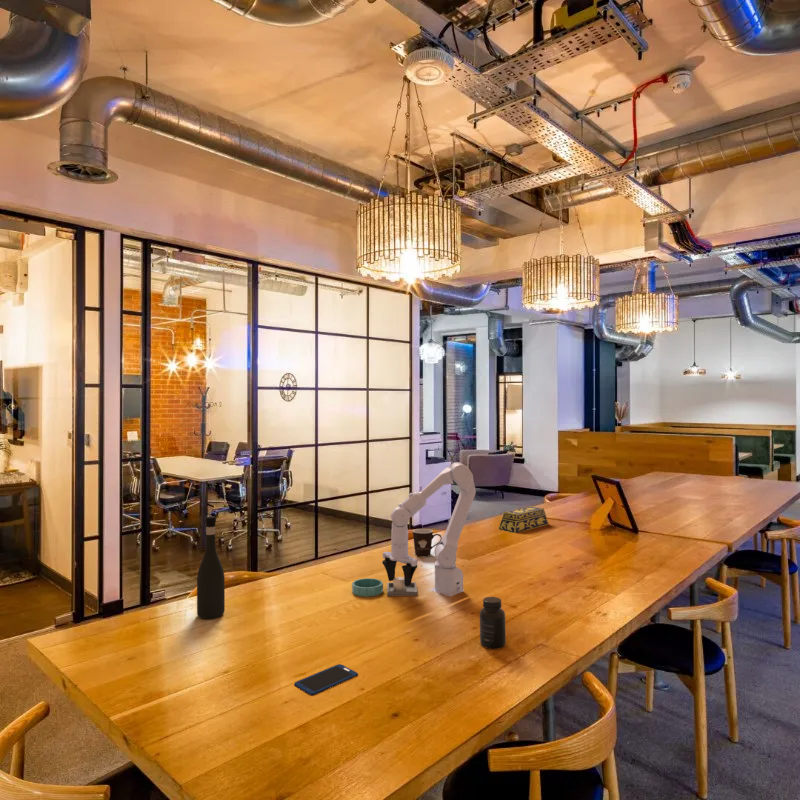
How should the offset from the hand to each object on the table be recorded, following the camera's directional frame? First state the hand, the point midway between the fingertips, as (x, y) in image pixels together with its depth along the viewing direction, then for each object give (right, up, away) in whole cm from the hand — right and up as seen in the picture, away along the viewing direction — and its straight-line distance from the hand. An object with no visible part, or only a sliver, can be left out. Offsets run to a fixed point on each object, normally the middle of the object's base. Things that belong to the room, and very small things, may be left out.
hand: (399, 583), depth 195 cm
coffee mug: (+11, -3, +47) cm, 48 cm away
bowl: (-11, -3, -1) cm, 11 cm away
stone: (0, -3, 0) cm, 3 cm away
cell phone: (-17, -4, -60) cm, 63 cm away
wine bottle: (-57, -4, -20) cm, 61 cm away
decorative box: (+64, -4, +100) cm, 119 cm away
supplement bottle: (+25, -3, -41) cm, 48 cm away
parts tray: (+1, -3, 0) cm, 3 cm away
